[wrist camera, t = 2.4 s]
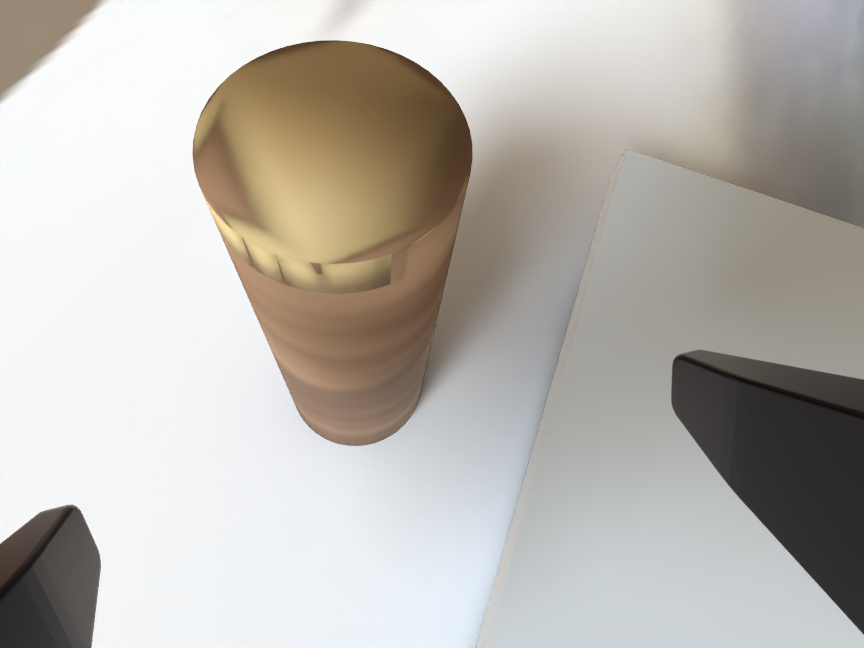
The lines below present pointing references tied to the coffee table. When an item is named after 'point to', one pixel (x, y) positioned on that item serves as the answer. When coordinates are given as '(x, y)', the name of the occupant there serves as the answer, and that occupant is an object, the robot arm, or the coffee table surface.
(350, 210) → the cylinder
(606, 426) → the caster cart
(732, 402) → the robot arm
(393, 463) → the coffee table surface
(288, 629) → the coffee table surface
